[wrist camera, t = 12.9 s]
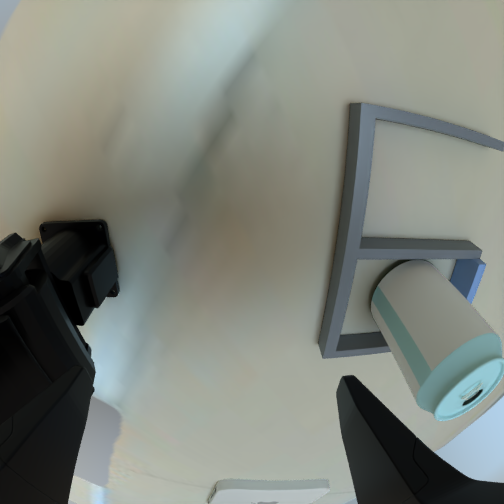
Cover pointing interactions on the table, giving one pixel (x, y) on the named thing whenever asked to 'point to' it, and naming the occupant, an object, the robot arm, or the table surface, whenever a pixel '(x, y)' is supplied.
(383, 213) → the table surface
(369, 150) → the grey flat frame
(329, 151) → the table surface
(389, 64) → the table surface
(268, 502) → the computer
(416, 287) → the can
